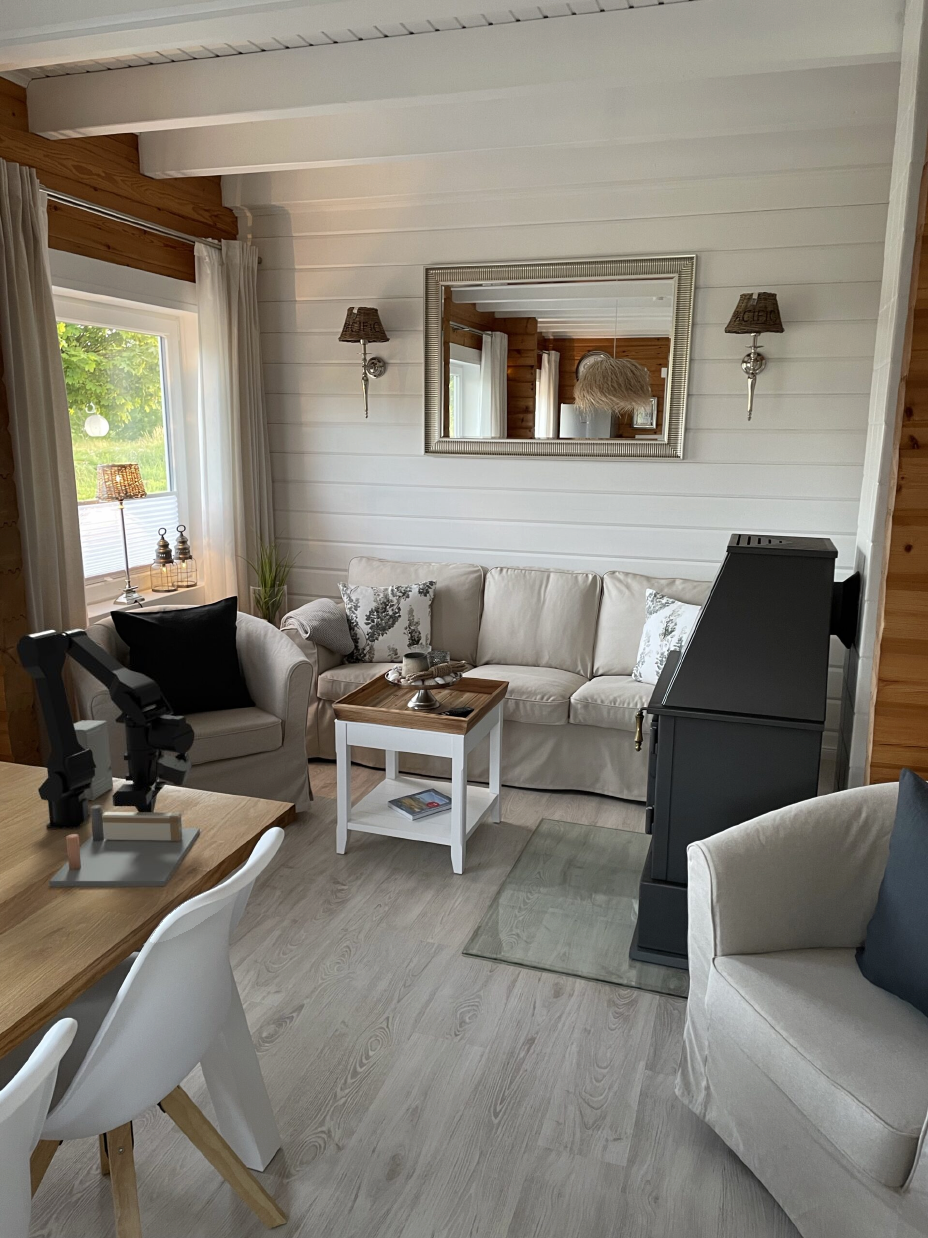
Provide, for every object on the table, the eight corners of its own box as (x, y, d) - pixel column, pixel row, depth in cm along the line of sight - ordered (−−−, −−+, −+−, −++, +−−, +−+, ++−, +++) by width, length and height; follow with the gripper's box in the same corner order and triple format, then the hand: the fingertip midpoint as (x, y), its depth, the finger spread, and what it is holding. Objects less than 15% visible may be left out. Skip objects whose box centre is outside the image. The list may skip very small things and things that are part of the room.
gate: (104, 839, 173) (102, 815, 172) (107, 836, 175) (106, 811, 174) (179, 840, 173) (177, 816, 172) (182, 837, 175) (180, 812, 174)
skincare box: (93, 801, 195) (87, 731, 192) (63, 798, 197) (57, 728, 194) (115, 787, 203) (110, 719, 200) (87, 784, 205) (81, 717, 202)
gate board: (49, 886, 158) (46, 846, 156) (98, 833, 179) (95, 797, 178) (164, 886, 158) (162, 846, 157) (199, 833, 180) (197, 797, 178)
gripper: (170, 763, 164) (175, 843, 167) (198, 729, 182) (203, 802, 185) (108, 763, 164) (115, 844, 167) (142, 730, 182) (148, 802, 185)
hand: (148, 822), depth 176 cm, fingers closed
